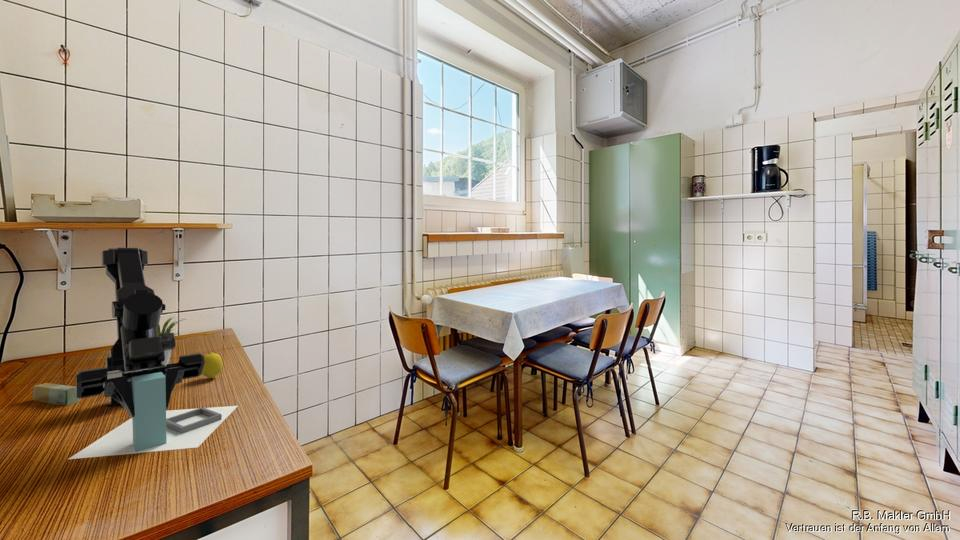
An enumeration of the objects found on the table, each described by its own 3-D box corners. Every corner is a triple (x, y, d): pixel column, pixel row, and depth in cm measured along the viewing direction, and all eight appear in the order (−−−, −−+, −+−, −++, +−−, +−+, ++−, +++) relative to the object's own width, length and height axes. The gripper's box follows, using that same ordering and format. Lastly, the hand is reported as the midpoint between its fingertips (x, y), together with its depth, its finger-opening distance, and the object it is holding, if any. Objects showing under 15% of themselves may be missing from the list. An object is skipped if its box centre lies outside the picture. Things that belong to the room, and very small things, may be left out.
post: (132, 443, 72) (131, 377, 72) (162, 435, 75) (161, 371, 75) (135, 451, 69) (134, 382, 69) (166, 443, 72) (165, 377, 72)
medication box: (80, 402, 94) (80, 386, 94) (66, 406, 91) (66, 390, 91) (46, 397, 96) (46, 382, 96) (31, 401, 94) (31, 385, 94)
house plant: (189, 355, 136) (188, 310, 135) (192, 364, 126) (191, 315, 125) (135, 362, 127) (134, 314, 126) (134, 372, 116) (133, 320, 115)
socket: (162, 425, 80) (162, 419, 80) (202, 412, 87) (202, 407, 86) (181, 433, 76) (181, 428, 76) (221, 419, 83) (221, 414, 83)
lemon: (207, 375, 115) (207, 349, 114) (226, 375, 115) (226, 349, 115) (195, 381, 109) (195, 354, 109) (215, 381, 109) (215, 354, 109)
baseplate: (67, 464, 66) (67, 459, 66) (139, 416, 86) (139, 412, 86) (197, 452, 71) (197, 447, 71) (238, 409, 91) (238, 405, 91)
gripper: (75, 327, 67) (78, 405, 60) (202, 315, 81) (216, 378, 74) (75, 361, 73) (78, 436, 66) (194, 345, 86) (206, 406, 80)
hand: (150, 412), depth 71 cm, fingers closed on post, 4 cm apart
